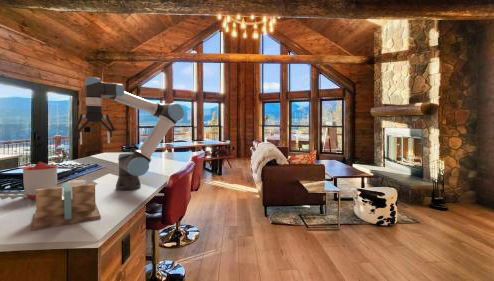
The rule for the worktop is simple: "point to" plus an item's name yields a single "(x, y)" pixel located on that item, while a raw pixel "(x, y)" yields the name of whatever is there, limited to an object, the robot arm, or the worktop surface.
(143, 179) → the worktop surface
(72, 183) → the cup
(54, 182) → the citrus juicer
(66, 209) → the teal slotted plate
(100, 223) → the worktop surface
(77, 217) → the joint base
